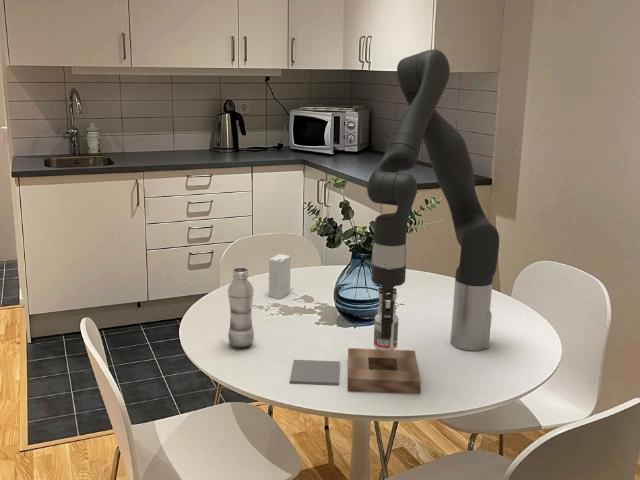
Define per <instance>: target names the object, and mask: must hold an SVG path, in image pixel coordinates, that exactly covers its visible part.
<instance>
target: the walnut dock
mask: <svg viewBox="0 0 640 480" xmlns="http://www.w3.org/2000/svg"><path fill="white" fill-rule="evenodd" d="M347 349H348V351H347V392H365V393H367V392H368V393H391V394H393V393H394V394H418V395H419V394H421V386H422V385H421V384H422V383H421V382H422V380H421V375H420V369H419V365H418V360H417V355H416V351H415V350H410V349H409V350H406V349H405V350H404V349H394V350H390V351H384V350H379V349H377V348H359V347H358V348H355V347H353V348H352V347H351V348H350V347H347Z"/></svg>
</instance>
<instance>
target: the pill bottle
mask: <svg viewBox="0 0 640 480" xmlns="http://www.w3.org/2000/svg"><path fill="white" fill-rule="evenodd" d="M377 306H378V307H377V314H376V315H375V317H374V326H373V329H374V331H373V346H374V349H379V350H384V351H390V350H396V349H397V347H398V340H399V339H398V338H399V337H398V336H399V335H398V334H399V316H398V315H397V314H396V313H397V308H396V306H395V312H394V313H393V324H392V327H391V338H390V339H385V338H382V337H381V327H382V323H381V316H382V313H381V312H380V310H379V308H380V304H379V305H377ZM384 318H390V315H384Z"/></svg>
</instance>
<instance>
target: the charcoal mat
mask: <svg viewBox="0 0 640 480" xmlns="http://www.w3.org/2000/svg"><path fill="white" fill-rule="evenodd" d="M340 364H341V363H340V361H339V360H338V361H337V360H335V361H334V360H314V359H313V360H312V359H309V360H308V359H293V362H292V366H291V367H292V368H291V373H290V374H291V375H290V378H289V379H290V380H289V384H294V385H295V384H299V385H301V384H302V385H303V384H304V385H322V386H323V385H324V386H326V385H328V386H339V385H340Z"/></svg>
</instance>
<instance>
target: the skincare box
mask: <svg viewBox="0 0 640 480" xmlns="http://www.w3.org/2000/svg"><path fill="white" fill-rule="evenodd" d="M291 256H292V255H287V254H281V253H278V254H277V255H275V256H273V257H270V258H269V259H268V296H269V297H270V298H273V299H282V298H283V297H285V296H286V295H288V294H290V293H291V259H292V257H291Z"/></svg>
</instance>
